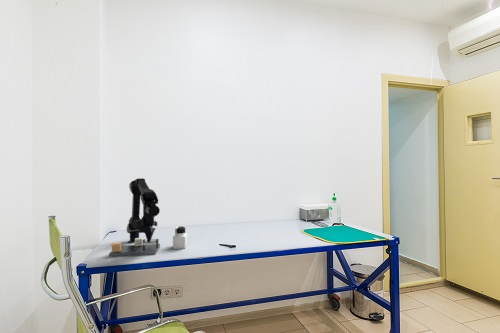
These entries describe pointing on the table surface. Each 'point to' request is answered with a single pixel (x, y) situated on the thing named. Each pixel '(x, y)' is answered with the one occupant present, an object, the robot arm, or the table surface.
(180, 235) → the medicine bottle
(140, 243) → the block
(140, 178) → the robot arm
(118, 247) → the slider orange
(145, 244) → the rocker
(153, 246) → the panel
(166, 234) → the table surface
